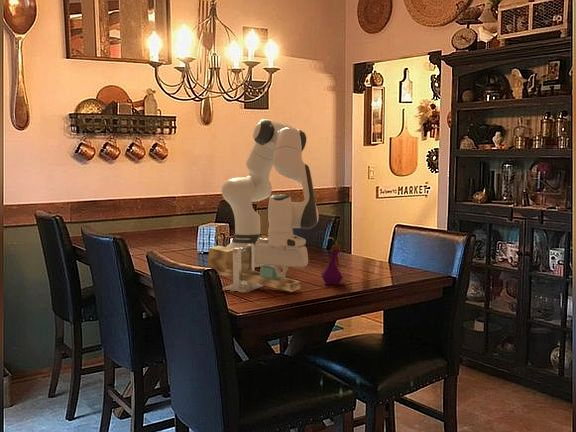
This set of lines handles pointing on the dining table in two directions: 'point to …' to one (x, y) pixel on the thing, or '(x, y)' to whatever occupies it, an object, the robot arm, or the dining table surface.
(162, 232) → the dining table surface
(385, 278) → the dining table surface
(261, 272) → the block
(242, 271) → the beam
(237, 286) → the stand
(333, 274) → the purple vase
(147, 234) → the dining table surface
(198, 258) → the dining table surface
